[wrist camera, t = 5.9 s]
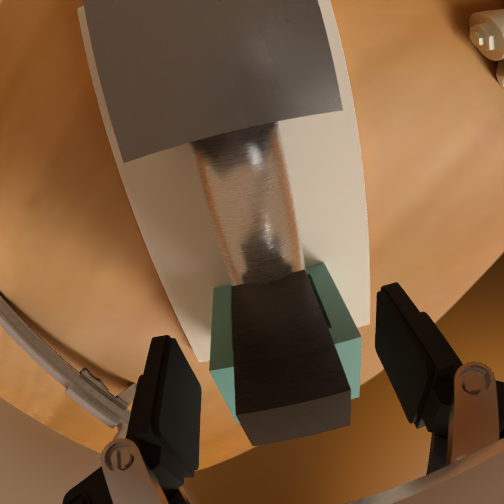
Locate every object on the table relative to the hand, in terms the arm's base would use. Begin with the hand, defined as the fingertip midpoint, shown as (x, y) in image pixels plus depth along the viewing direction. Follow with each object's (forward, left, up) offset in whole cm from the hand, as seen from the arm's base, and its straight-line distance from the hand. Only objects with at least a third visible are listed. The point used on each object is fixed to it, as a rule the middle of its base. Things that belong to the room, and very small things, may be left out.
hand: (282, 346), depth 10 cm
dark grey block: (0, -10, -7) cm, 13 cm away
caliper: (+18, +4, -9) cm, 20 cm away
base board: (0, -4, -8) cm, 9 cm away
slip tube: (0, -2, -6) cm, 6 cm away
